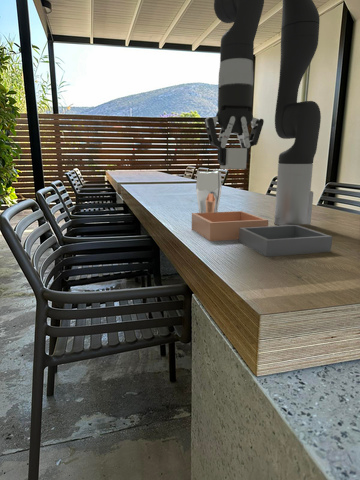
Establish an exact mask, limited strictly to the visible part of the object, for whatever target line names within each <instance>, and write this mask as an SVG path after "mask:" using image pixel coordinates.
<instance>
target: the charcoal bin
mask: <svg viewBox="0 0 360 480" xmlns="http://www.w3.org/2000/svg"><path fill="white" fill-rule="evenodd" d="M238 242H239V243H241V244H243V246H244V245H245V246H246V247H248V248H250V249H251V250H253V251H255V252H257V253H258V254H260V255H262V256H264V257H279V256H293V255H294V256H295V255H304V254H317V253H330V252H332V243H333V236H332V235H328V234H326V233H323V232H320V231H317V230H313V229H310V228H307V227H304V226H301V225H299V224H298V225H268V226H265V227H247V228H239V239H238Z"/></svg>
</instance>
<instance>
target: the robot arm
mask: <svg viewBox="0 0 360 480" xmlns="http://www.w3.org/2000/svg"><path fill="white" fill-rule="evenodd" d="M264 3H265V0H213V10H214V14H215V16H216V17H217V19H218V20H219V21H220V22H222V23H225V24H232V26H231V27H230V28H229V29H228V30H227V31H225V32H224V33H223V35H222V36H221V39H220V51H219V52H220V53H219V55H220V57H219V69H218V85H217V86H218V87H217V88H218V90H217V91H218V92H217V112H216V115H215V116H213V117H212V116H211V117H206V118H205V119H204V126H205V129H206V131H205V132H206V134H207V138H208V142H209V146H213V147H216V148H217V163H219V166H220V165H226V149H225V148H226V146H227V143H228V140H229V138H230V136H231V134H234V135H236V136H237V139H238V141H239V145H240V148H247V160H246V164H248V163H249V156H250V155H249V154H250V148H251V147H253V146H257V145H258V144H259V143H258V142H259V139H260V136H261V132H262V129H263V126H264V123H265V120H264V119H263V118H257V117H255V116H254V115H253V113H252V108H253V95H254V82H255V81H254V50H255V49H254V47H255V46H254V43H255V38H256V35H257V32H258V27H259V25H260V21H261V16H262V14H263V9H264ZM281 9H282V14H281V28H280V32H281V33H280V64H279V77H278V78H279V80H278V88H277V89H278V90H277V97H276V104H275V113H274V129H275V132H276V135H277V136H278V137H279V139H283V140H288V139H294V142H293V144H292V146H290V148H287V149H286V150H284V151H282V152H280V153H279V155H278V164H277V177H276V189H275V190H276V191H275V192H276V193H275V203H274V204H275V207H274V217H273V218H274V222H273V223H274V224H275V225H276V226H284V225H298V226H299V225H308V226H309V225H310V226H311V225H312V224H311V222H312V213H313V203H314V191H312V189H311V188H312V180H313V179H312V177H313V167H314V160H315V157H316V154H317V153H316V152H317V150H318V149H317V148H318V142H319V136H320V131H321V130H320V129H321V119H322V115H321V114H322V113H321V109H320V106H319V104H318V103H317V102H316V101H313V100H306V101H299V102H298V95H299V88H300V85H301V82H302V80H303V78H304V76H305V73H306V71H307V70H308V67H309V66H310V64H311V62H312V60H313V59H314V56H315V54H316V51H317V49H318V46H319V38H320V37H319V36H320V14H319V11H318V9H317V6H316V5H315V3H314V0H282V8H281ZM217 124H218V125H219V127H220V131H219V135H218V133H217V129H216V126H217ZM249 126H251V130H250V131H251V132H250V133H249V129H248V127H249Z"/></svg>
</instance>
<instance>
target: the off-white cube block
mask: <svg viewBox="0 0 360 480" xmlns="http://www.w3.org/2000/svg"><path fill="white" fill-rule="evenodd" d="M225 149H226V165H220V164H219V168H220V169H222V170H224V169H225V170H240V169H241V170H243V169H244V170H246V169H247V163H246V160H247V148H241V147H239V148H238V147H235V148H233V147H230V148H229V147H227V148H226V147H225Z"/></svg>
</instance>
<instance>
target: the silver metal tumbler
mask: <svg viewBox="0 0 360 480" xmlns="http://www.w3.org/2000/svg"><path fill="white" fill-rule="evenodd" d="M195 190H196V191H195V192H196V198H197V206H198V213H207V212H219V206H220V203H221V197H222V172H221V171H197V172H196V189H195Z"/></svg>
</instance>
